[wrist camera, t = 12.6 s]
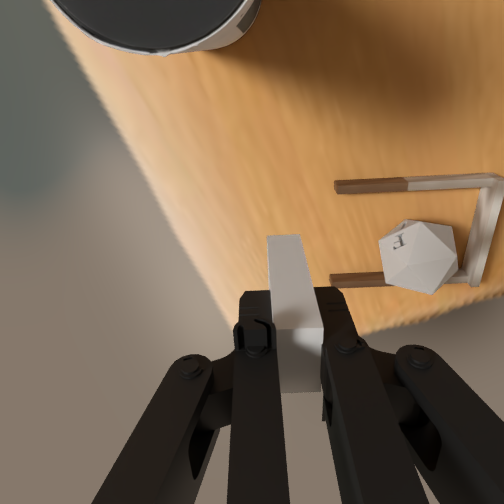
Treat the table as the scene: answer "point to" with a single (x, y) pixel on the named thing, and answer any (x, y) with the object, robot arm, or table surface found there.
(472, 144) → the table surface
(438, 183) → the grey brown u-shaped frame
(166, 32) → the speaker
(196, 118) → the table surface
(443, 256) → the die
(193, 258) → the table surface
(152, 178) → the table surface
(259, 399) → the robot arm
